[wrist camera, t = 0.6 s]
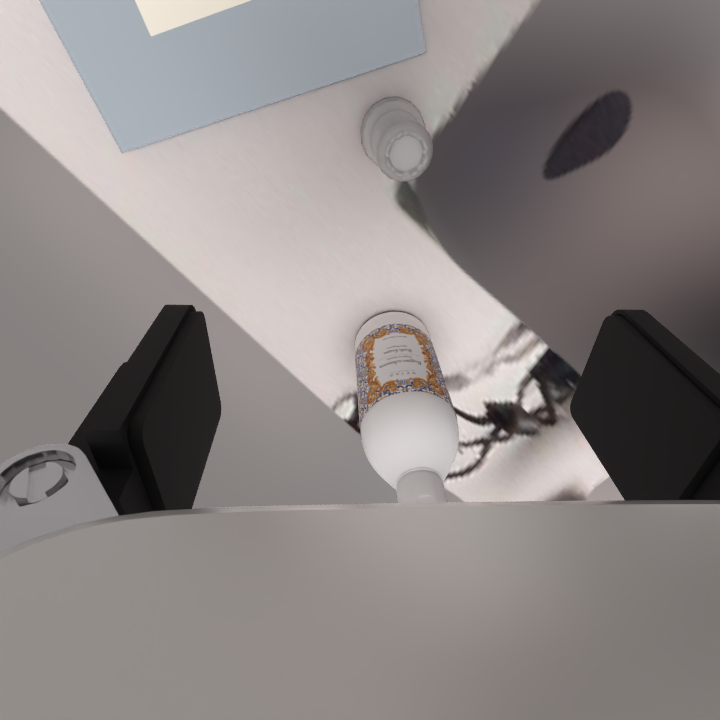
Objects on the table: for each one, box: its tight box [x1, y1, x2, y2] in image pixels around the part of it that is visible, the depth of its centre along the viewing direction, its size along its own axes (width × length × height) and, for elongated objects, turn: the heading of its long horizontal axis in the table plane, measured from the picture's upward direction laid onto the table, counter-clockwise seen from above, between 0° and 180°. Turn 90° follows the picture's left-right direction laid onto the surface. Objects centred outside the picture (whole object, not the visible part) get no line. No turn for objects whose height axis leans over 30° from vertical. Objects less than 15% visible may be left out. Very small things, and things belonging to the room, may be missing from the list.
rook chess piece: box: [361, 97, 433, 182], centre depth 28 cm, size 4×4×8 cm
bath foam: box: [355, 312, 459, 503], centre depth 33 cm, size 7×7×20 cm
